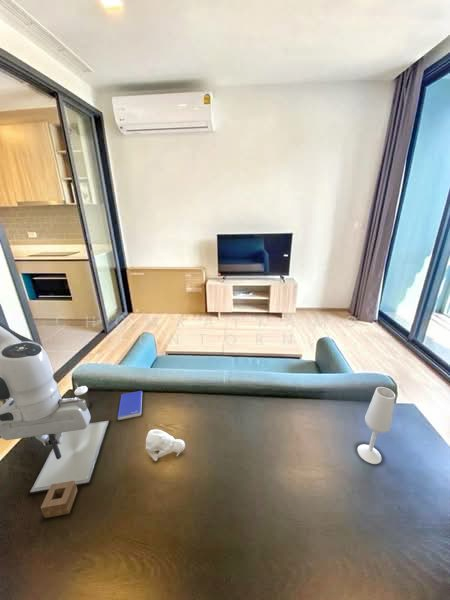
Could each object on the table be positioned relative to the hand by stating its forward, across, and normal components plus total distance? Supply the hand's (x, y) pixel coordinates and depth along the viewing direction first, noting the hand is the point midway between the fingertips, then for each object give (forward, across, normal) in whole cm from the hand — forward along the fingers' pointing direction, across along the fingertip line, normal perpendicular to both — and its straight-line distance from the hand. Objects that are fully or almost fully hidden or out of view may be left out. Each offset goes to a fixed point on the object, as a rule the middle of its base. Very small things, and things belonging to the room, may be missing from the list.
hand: (53, 442), depth 68 cm
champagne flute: (+14, -92, +9) cm, 93 cm away
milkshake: (+14, +4, -29) cm, 32 cm away
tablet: (+14, 0, -8) cm, 16 cm away
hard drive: (+14, -14, -26) cm, 33 cm away
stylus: (+6, 0, 0) cm, 6 cm away
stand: (+14, -2, +7) cm, 16 cm away
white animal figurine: (+14, -29, -3) cm, 32 cm away
